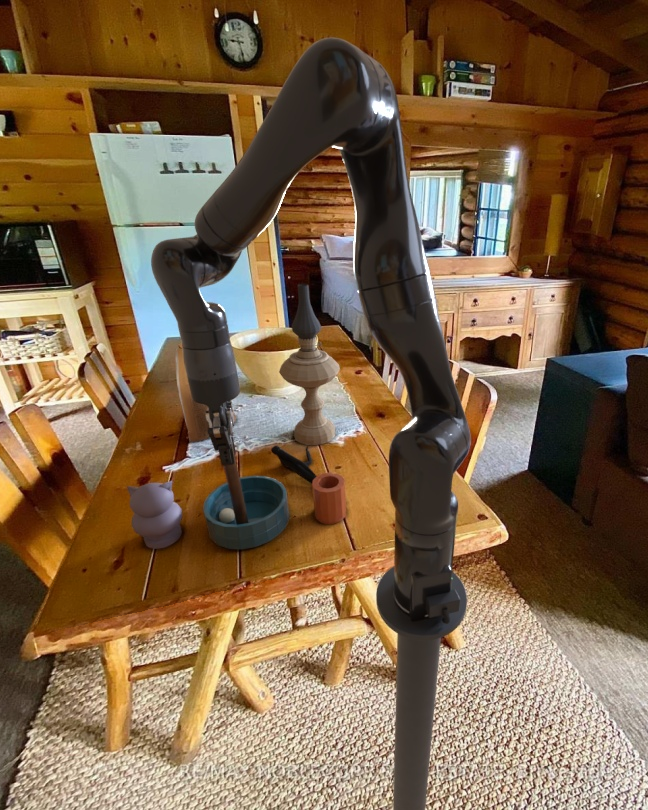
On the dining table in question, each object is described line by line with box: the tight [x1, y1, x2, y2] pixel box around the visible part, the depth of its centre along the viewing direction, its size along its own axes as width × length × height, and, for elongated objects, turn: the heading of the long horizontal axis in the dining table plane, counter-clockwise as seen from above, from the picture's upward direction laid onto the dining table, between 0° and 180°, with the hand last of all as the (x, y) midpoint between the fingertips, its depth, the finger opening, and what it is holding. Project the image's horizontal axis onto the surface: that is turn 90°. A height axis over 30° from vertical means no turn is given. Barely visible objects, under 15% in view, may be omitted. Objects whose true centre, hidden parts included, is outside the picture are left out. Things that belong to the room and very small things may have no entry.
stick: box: [223, 438, 249, 525], centre depth 81 cm, size 2×2×20 cm
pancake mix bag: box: [174, 341, 237, 443], centre depth 115 cm, size 7×19×28 cm, turn 155°
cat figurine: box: [126, 480, 183, 550], centre depth 82 cm, size 8×8×12 cm
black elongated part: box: [270, 445, 318, 485], centre depth 102 cm, size 8×9×25 cm
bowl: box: [202, 475, 290, 550], centre depth 87 cm, size 15×15×6 cm
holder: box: [311, 472, 347, 525], centre depth 89 cm, size 6×6×8 cm
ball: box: [219, 508, 235, 524], centre depth 87 cm, size 3×3×3 cm
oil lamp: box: [278, 283, 341, 446], centre depth 110 cm, size 15×15×40 cm
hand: (229, 459), depth 78 cm, fingers closed on stick, 2 cm apart
